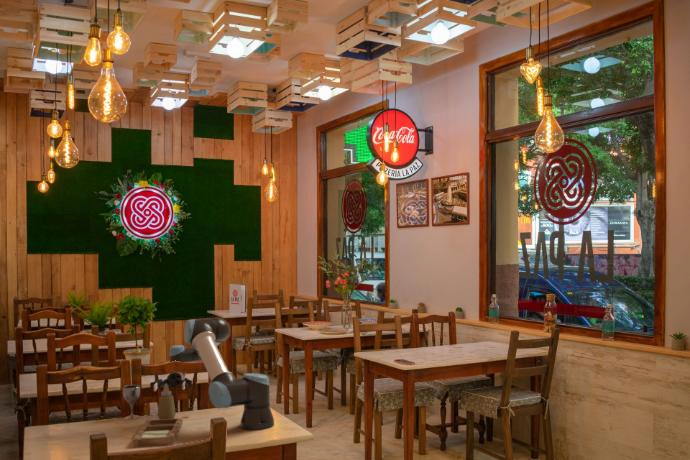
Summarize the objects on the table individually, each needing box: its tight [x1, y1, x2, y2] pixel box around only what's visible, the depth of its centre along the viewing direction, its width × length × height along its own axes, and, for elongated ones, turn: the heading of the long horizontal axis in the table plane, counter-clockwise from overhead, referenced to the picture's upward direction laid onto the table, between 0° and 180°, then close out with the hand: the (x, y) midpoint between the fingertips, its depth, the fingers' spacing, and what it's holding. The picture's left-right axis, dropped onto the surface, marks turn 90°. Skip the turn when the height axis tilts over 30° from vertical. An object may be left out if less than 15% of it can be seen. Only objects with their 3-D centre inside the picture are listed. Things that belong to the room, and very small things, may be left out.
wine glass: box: [122, 384, 141, 420], centre depth 319 cm, size 8×8×15 cm
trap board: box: [132, 417, 183, 448], centre depth 285 cm, size 32×16×3 cm, turn 7°
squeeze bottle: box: [157, 384, 176, 420], centre depth 307 cm, size 8×8×18 cm
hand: (168, 387), depth 317 cm, fingers open, 13 cm apart
